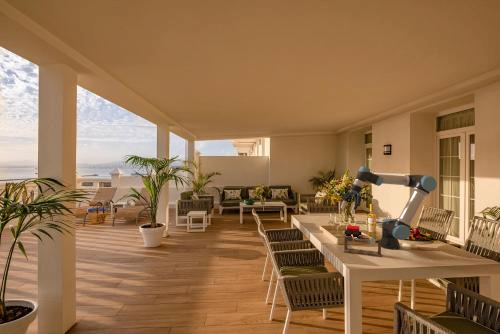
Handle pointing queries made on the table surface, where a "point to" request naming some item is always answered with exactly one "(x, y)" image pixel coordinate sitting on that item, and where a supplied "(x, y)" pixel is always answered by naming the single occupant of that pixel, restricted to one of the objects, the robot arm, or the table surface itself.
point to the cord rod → (358, 239)
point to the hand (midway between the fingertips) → (346, 211)
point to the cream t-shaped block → (372, 239)
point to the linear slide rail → (362, 252)
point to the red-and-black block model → (353, 231)
